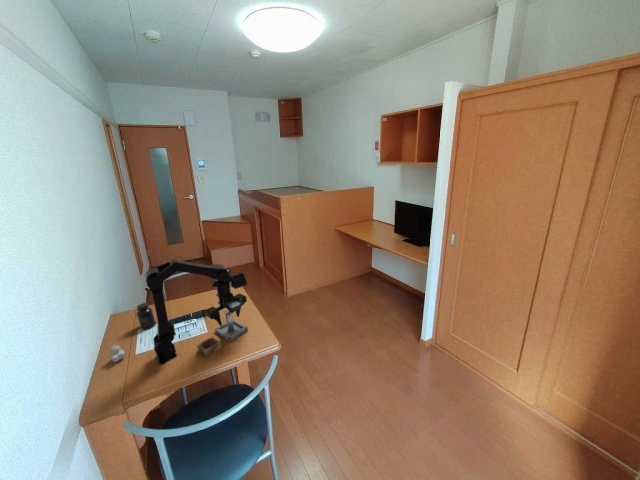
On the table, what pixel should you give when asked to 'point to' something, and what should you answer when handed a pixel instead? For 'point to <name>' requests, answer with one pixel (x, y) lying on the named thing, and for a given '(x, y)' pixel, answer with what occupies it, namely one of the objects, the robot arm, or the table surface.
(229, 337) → the tray
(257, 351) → the table surface
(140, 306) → the supplement bottle
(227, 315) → the pin
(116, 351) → the grey knobbly cluster
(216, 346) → the socket
